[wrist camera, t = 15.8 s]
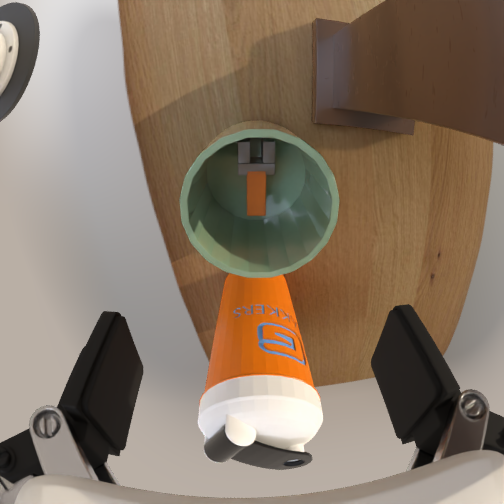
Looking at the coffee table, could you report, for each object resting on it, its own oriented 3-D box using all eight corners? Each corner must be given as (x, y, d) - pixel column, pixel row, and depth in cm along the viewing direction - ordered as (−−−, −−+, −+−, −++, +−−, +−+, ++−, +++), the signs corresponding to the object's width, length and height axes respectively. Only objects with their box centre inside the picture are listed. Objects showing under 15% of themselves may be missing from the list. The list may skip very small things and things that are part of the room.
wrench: (271, 204, 28) (273, 216, 25) (239, 204, 28) (238, 216, 25) (272, 137, 25) (275, 141, 22) (238, 137, 25) (237, 141, 22)
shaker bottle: (277, 324, 36) (294, 479, 18) (207, 307, 34) (184, 469, 17) (307, 265, 32) (356, 436, 14) (228, 243, 30) (208, 424, 13)
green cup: (205, 222, 29) (188, 278, 20) (200, 121, 24) (174, 132, 16) (305, 221, 29) (329, 277, 21) (311, 122, 25) (345, 133, 16)
